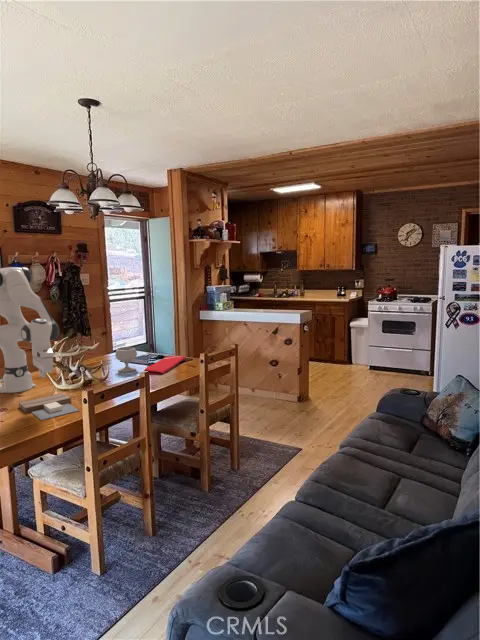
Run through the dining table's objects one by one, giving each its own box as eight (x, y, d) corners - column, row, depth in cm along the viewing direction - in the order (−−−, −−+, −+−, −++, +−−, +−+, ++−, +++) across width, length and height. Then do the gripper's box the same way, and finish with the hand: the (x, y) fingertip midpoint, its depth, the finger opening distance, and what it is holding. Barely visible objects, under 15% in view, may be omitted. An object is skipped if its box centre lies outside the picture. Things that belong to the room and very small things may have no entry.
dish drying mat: (140, 374, 281) (140, 369, 280) (166, 360, 320) (166, 355, 320) (162, 375, 277) (162, 370, 276) (186, 360, 316) (186, 355, 316)
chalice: (141, 369, 291) (140, 348, 289) (123, 374, 281) (122, 351, 279) (130, 366, 301) (129, 345, 299) (112, 370, 291) (110, 348, 289)
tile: (44, 408, 217) (43, 404, 217) (56, 405, 221) (55, 401, 221) (50, 412, 210) (49, 408, 210) (62, 409, 214) (62, 405, 214)
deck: (19, 407, 221) (18, 402, 220) (62, 397, 235) (62, 393, 235) (26, 413, 212) (25, 408, 212) (71, 402, 226) (70, 397, 226)
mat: (31, 412, 212) (31, 411, 212) (68, 403, 224) (67, 403, 224) (41, 420, 201) (41, 419, 201) (79, 410, 213) (79, 410, 213)
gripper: (28, 348, 224) (30, 373, 226) (41, 355, 209) (43, 383, 211) (41, 346, 228) (42, 371, 230) (54, 353, 213) (56, 380, 215)
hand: (43, 377), depth 220 cm, fingers closed
